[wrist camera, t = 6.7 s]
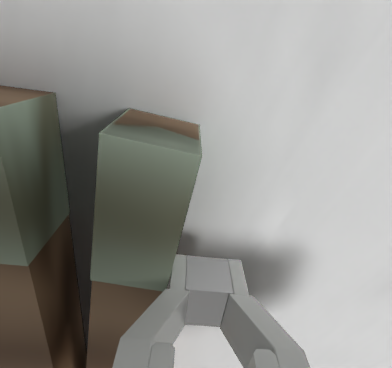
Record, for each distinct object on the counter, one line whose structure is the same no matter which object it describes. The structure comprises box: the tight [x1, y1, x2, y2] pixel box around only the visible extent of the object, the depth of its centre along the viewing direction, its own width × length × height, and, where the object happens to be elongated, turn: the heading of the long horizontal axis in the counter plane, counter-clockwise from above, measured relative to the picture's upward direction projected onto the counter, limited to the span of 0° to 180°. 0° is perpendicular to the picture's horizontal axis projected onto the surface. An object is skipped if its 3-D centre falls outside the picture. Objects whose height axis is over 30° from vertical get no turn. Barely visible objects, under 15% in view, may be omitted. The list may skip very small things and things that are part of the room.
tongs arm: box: [86, 108, 202, 368], centre depth 12 cm, size 20×2×3 cm, turn 167°
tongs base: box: [0, 86, 87, 368], centre depth 12 cm, size 25×6×5 cm, turn 173°
